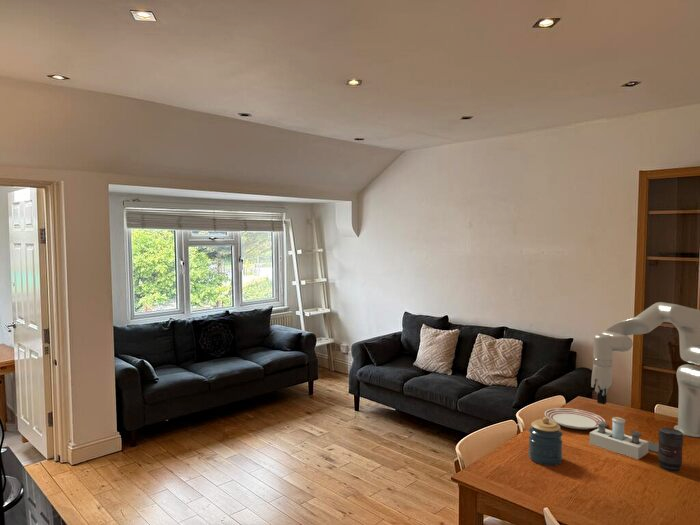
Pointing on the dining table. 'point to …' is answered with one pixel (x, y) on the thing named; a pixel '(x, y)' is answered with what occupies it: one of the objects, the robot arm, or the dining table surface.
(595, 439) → the housing
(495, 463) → the dining table surface
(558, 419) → the dinner plate
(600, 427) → the plunger
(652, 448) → the mat
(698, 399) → the robot arm
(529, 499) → the dining table surface
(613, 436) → the cartridge
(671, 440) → the camera lens
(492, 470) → the dining table surface
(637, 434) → the plunger
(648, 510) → the dining table surface
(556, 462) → the canister
